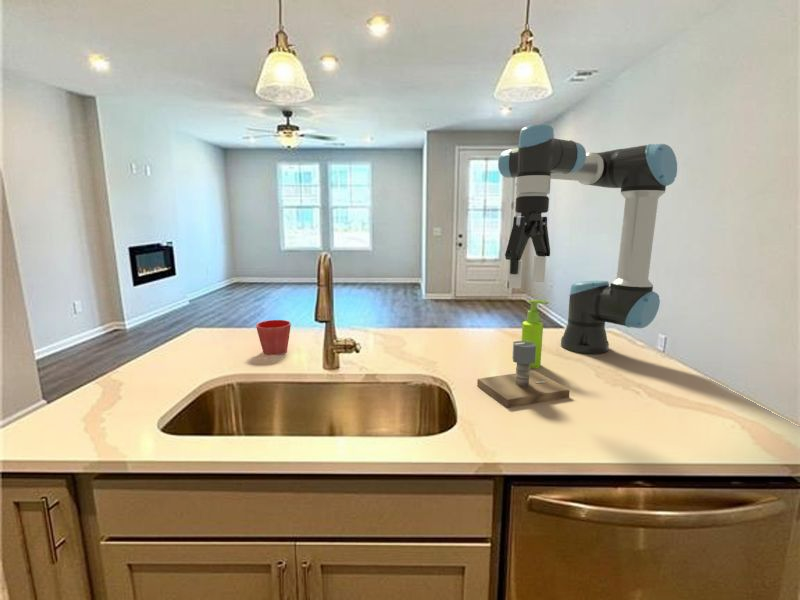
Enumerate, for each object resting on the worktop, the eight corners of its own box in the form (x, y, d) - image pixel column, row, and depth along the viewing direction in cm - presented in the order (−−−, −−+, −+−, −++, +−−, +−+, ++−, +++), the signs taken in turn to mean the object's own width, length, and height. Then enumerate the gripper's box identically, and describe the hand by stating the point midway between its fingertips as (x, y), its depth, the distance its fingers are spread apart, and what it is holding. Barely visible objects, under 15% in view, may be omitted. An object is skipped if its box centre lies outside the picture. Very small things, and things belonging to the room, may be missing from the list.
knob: (527, 356, 111) (528, 338, 110) (539, 362, 106) (541, 344, 105) (507, 358, 109) (508, 341, 108) (519, 365, 104) (520, 346, 103)
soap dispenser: (545, 369, 125) (549, 302, 121) (521, 367, 127) (524, 301, 123) (542, 362, 131) (546, 299, 127) (519, 361, 132) (523, 298, 128)
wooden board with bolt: (534, 377, 118) (535, 350, 117) (569, 397, 105) (571, 366, 104) (477, 385, 112) (478, 357, 111) (507, 407, 100) (508, 375, 98)
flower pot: (284, 357, 136) (282, 328, 134) (252, 355, 138) (250, 326, 136) (297, 347, 146) (295, 320, 144) (267, 346, 148) (265, 319, 146)
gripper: (538, 198, 111) (533, 278, 115) (492, 193, 93) (488, 289, 97) (567, 197, 107) (561, 280, 111) (524, 192, 88) (519, 292, 92)
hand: (527, 284), depth 104 cm, fingers open, 13 cm apart
